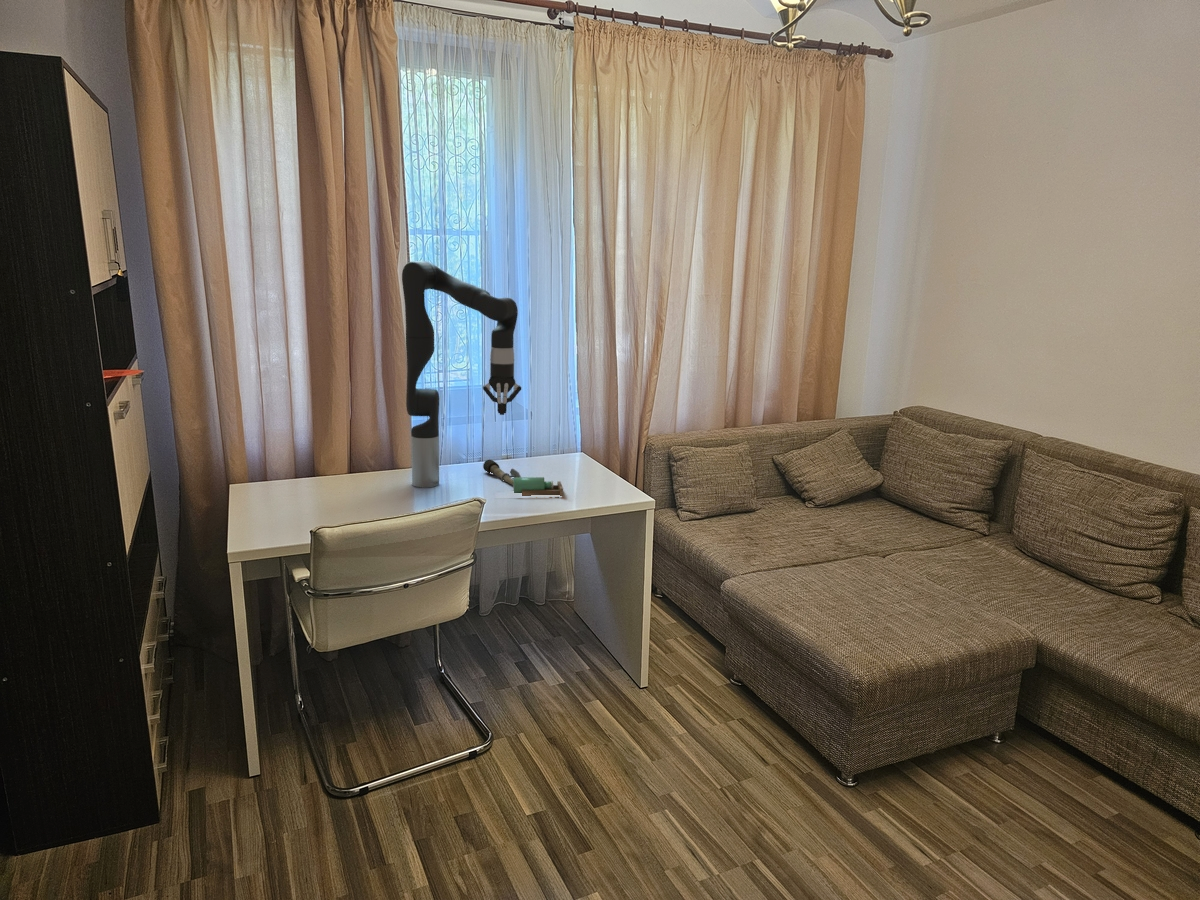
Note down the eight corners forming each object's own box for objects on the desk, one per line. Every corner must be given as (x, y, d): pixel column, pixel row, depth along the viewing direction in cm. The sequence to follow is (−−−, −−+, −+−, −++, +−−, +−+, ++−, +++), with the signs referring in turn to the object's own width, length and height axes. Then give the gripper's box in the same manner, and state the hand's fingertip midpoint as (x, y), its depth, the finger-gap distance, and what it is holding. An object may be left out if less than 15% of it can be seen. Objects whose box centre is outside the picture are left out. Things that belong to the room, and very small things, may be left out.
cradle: (493, 493, 276) (493, 481, 275) (560, 492, 280) (560, 481, 279) (494, 500, 267) (494, 489, 266) (562, 500, 271) (563, 488, 270)
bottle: (513, 476, 274) (552, 476, 276) (513, 491, 275) (551, 491, 277) (514, 478, 269) (553, 478, 271) (514, 494, 270) (553, 494, 272)
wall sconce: (515, 496, 276) (483, 472, 301) (532, 493, 279) (499, 469, 304) (514, 483, 274) (482, 460, 300) (531, 480, 277) (498, 457, 303)
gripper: (522, 359, 266) (521, 412, 271) (481, 359, 264) (480, 412, 268) (523, 363, 259) (523, 416, 264) (481, 362, 257) (481, 416, 261)
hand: (501, 414), depth 266 cm, fingers closed
